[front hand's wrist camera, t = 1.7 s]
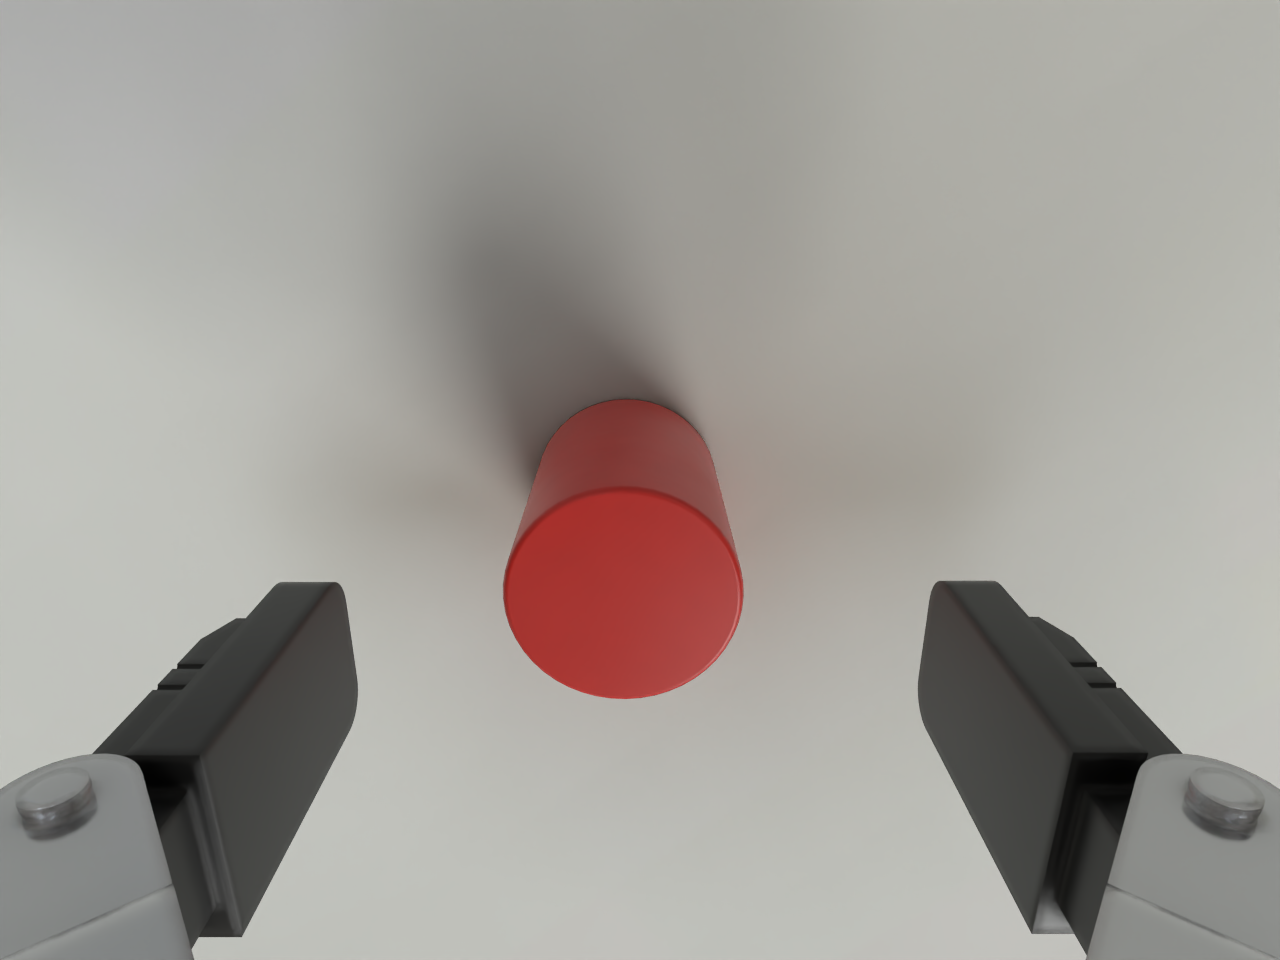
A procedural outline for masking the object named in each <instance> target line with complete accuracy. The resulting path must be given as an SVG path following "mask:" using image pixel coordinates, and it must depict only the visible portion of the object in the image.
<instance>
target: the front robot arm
mask: <svg viewBox="0 0 1280 960" xmlns="http://www.w3.org/2000/svg"><path fill="white" fill-rule="evenodd" d="M177 665H178V666H177V669H172V670H171V671H170V672H169V673H168V674H167V676H166V677H165V678H164V679H163V680H162V681H161V682H160V683H159V684H158V689H157V690H152V691H151V692H150V693H149V695H148V696H147V697H146V698H145V699H144V700H143V701H142V702H141V703H140V704H139V705H138V706H137V707H136V708H135V709H134V710H133V711H132V712H131V714H130V715H129V716H128V717H127V718H126V719H125V720H124V721H123V722H122V723H121V724H120V725H119V726H118V727H117V728H116V729H115V730H114V731H113V733H112V734H111V735H110V736H109V737H108V738H107V739H106V740H105V741H104V742H103V743H102V744H101V745H100V746H99V747H98V748H97V749H96V750H95V752H94V753H93V754H90V755H82V756H77V757H73V758H68V759H64V760H61V761H58V762H54V763H51V764H49V765H46V766H43V767H41V768H38V769H36V770H34V771H32V772H30V773H27V774H25V775H23V776H21V777H20V778H18V779H16V780H14V781H12V782H11V783H9V784H8V785H6V786H5V787H3V788H2V789H0V960H194V957H193V954H192V950H191V949H192V947H193V946H194V944H195V942H196V940H197V939H198V937H242V935H243V933H244V932H245V930H246V928H247V926H248V924H249V922H250V920H251V918H252V916H253V914H254V912H255V911H256V909H257V907H258V905H259V903H260V901H261V899H262V897H263V895H264V893H265V891H266V890H267V888H268V886H269V884H270V882H271V880H272V878H273V876H274V874H275V872H276V870H277V869H278V867H279V865H280V863H281V861H282V859H283V857H284V855H285V853H286V851H287V849H288V847H289V846H290V844H291V842H292V840H293V838H294V836H295V834H296V832H297V830H298V828H299V826H300V825H301V823H302V821H303V819H304V817H305V815H306V813H307V811H308V809H309V807H310V805H311V804H312V802H313V800H314V798H315V796H316V794H317V792H318V790H319V788H320V786H321V784H322V783H323V781H324V779H325V777H326V775H327V773H328V771H329V769H330V767H331V765H332V763H333V761H334V760H335V758H336V756H337V754H338V752H339V750H340V748H341V746H342V744H343V742H344V740H345V739H346V737H347V735H348V733H349V731H350V729H351V727H352V724H353V721H354V717H355V713H356V707H357V698H358V683H357V675H356V668H355V661H354V654H353V647H352V640H351V633H350V626H349V619H348V612H347V605H346V599H345V595H344V591H343V589H342V587H341V586H340V585H339V584H338V583H336V582H280V583H278V584H276V585H275V586H274V587H273V588H272V590H271V591H270V592H269V593H268V594H267V595H266V596H265V597H264V599H263V600H262V601H261V602H260V603H259V604H258V605H257V606H256V607H255V609H254V610H253V611H252V612H251V613H250V614H249V615H248V616H247V618H236V619H235V620H233V621H231V622H229V623H228V624H226V625H224V626H223V627H221V628H219V629H218V630H216V631H214V632H212V633H211V634H209V635H207V636H206V637H204V638H202V639H201V640H200V641H199V642H198V643H197V644H196V645H195V646H194V647H193V648H192V649H191V650H190V651H189V652H188V653H187V654H186V655H185V657H184V658H183V659H182V660H181V661H180V662H179V663H178V664H177ZM918 699H919V707H920V712H921V717H922V720H923V723H924V726H925V728H926V730H927V732H928V734H929V736H930V738H931V740H932V742H933V744H934V745H935V747H936V749H937V751H938V753H939V755H940V757H941V759H942V761H943V763H944V765H945V767H946V769H947V771H948V773H949V774H950V776H951V778H952V780H953V782H954V784H955V786H956V788H957V790H958V792H959V794H960V796H961V798H962V800H963V802H964V804H965V805H966V807H967V809H968V811H969V813H970V815H971V817H972V819H973V821H974V823H975V825H976V827H977V829H978V831H979V833H980V834H981V836H982V838H983V840H984V842H985V844H986V846H987V848H988V850H989V852H990V854H991V856H992V858H993V860H994V862H995V863H996V865H997V867H998V869H999V871H1000V873H1001V875H1002V877H1003V879H1004V881H1005V883H1006V885H1007V887H1008V889H1009V891H1010V893H1011V894H1012V896H1013V898H1014V900H1015V902H1016V904H1017V906H1018V908H1019V910H1020V912H1021V914H1022V916H1023V918H1024V920H1025V922H1026V923H1027V925H1028V927H1029V929H1030V931H1031V933H1032V934H1075V936H1076V937H1077V939H1078V941H1079V943H1080V944H1081V946H1082V948H1083V949H1084V951H1085V953H1086V955H1087V957H1086V960H1280V789H1278V788H1277V787H1275V786H1274V785H1272V784H1271V783H1269V782H1268V781H1266V780H1264V779H1262V778H1260V777H1259V776H1257V775H1255V774H1253V773H1250V772H1248V771H1246V770H1244V769H1242V768H1239V767H1237V766H1234V765H1231V764H1229V763H1226V762H1222V761H1219V760H1216V759H1212V758H1207V757H1203V756H1198V755H1190V754H1182V753H1181V751H1180V750H1179V749H1178V748H1177V747H1176V746H1175V745H1174V744H1173V743H1172V742H1171V741H1170V740H1169V739H1168V738H1167V737H1166V735H1165V734H1164V733H1163V732H1162V731H1161V730H1160V729H1159V728H1158V727H1157V726H1156V725H1155V724H1154V723H1153V722H1152V721H1151V719H1150V718H1149V717H1148V716H1147V715H1146V714H1145V713H1144V712H1143V711H1142V710H1141V709H1140V708H1139V707H1138V706H1137V705H1136V704H1135V702H1134V701H1133V700H1132V699H1131V698H1130V697H1129V696H1128V695H1127V694H1126V693H1125V692H1124V691H1123V690H1122V689H1121V688H1117V687H1116V682H1115V681H1114V680H1113V679H1112V678H1111V677H1110V676H1109V675H1108V674H1107V673H1106V672H1105V670H1104V669H1103V668H1102V667H1097V662H1096V661H1095V660H1094V659H1093V658H1092V657H1091V656H1090V655H1089V653H1088V652H1087V651H1086V650H1085V649H1084V648H1083V647H1082V646H1081V645H1080V644H1079V643H1078V642H1077V641H1076V640H1075V639H1074V638H1073V637H1072V636H1070V635H1068V634H1066V633H1065V632H1063V631H1061V630H1060V629H1058V628H1056V627H1055V626H1053V625H1051V624H1050V623H1048V622H1046V621H1045V620H1043V619H1041V618H1039V617H1028V615H1027V614H1026V613H1025V612H1024V611H1023V610H1022V609H1021V607H1020V606H1019V605H1018V604H1017V603H1016V602H1015V601H1014V600H1013V598H1012V597H1011V596H1010V595H1009V594H1008V593H1007V592H1006V590H1005V589H1004V588H1003V587H1002V586H1001V585H1000V584H999V583H998V582H996V581H938V582H937V583H936V584H935V585H934V587H933V589H932V592H931V595H930V600H929V607H928V614H927V622H926V629H925V636H924V643H923V650H922V657H921V664H920V671H919V679H918Z"/></svg>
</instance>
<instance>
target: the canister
mask: <svg viewBox="0 0 1280 960" xmlns="http://www.w3.org/2000/svg"><path fill="white" fill-rule="evenodd" d="M743 596H744V595H743V579H742V573H741V568H740V564H739V560H738V556H737V553H736V549H735V545H734V541H733V537H732V533H731V529H730V526H729V522H728V518H727V514H726V510H725V506H724V502H723V499H722V495H721V491H720V487H719V483H718V479H717V475H716V472H715V468H714V464H713V461H712V458H711V455H710V452H709V450H708V448H707V446H706V444H705V442H704V441H703V439H702V438H701V436H700V435H699V433H698V432H697V431H696V430H695V429H694V428H693V427H692V426H691V425H690V424H689V423H688V422H687V421H686V420H684V419H683V418H682V417H681V416H679V415H677V414H676V413H674V412H673V411H671V410H669V409H667V408H665V407H662V406H660V405H657V404H654V403H651V402H646V401H640V400H629V399H623V400H612V401H607V402H602V403H599V404H596V405H593V406H590V407H588V408H586V409H584V410H582V411H580V412H578V413H577V414H576V415H574V416H573V417H571V418H570V419H568V420H567V421H566V422H565V423H564V424H563V425H562V426H561V427H560V428H559V429H558V430H557V431H556V433H555V434H554V435H553V437H552V438H551V440H550V441H549V443H548V444H547V446H546V449H545V451H544V453H543V455H542V459H541V462H540V465H539V468H538V471H537V474H536V477H535V480H534V483H533V486H532V489H531V492H530V495H529V498H528V501H527V504H526V507H525V510H524V513H523V516H522V520H521V523H520V526H519V529H518V532H517V535H516V538H515V541H514V544H513V547H512V550H511V553H510V556H509V559H508V563H507V566H506V569H505V575H504V582H503V600H504V607H505V613H506V616H507V619H508V622H509V626H510V628H511V630H512V632H513V634H514V636H515V638H516V640H517V641H518V643H519V645H520V646H521V648H522V649H523V651H524V652H525V653H526V654H527V656H528V657H529V658H530V659H531V660H532V661H533V662H534V663H535V664H536V665H537V666H538V667H539V668H540V669H541V670H542V671H544V672H545V673H546V674H548V675H549V676H551V677H552V678H553V679H555V680H557V681H558V682H560V683H562V684H564V685H566V686H568V687H570V688H573V689H575V690H578V691H580V692H583V693H587V694H591V695H594V696H599V697H606V698H617V699H631V698H642V697H648V696H654V695H657V694H661V693H664V692H667V691H670V690H673V689H675V688H677V687H680V686H682V685H684V684H685V683H687V682H689V681H691V680H692V679H694V678H696V677H697V676H698V675H700V674H701V673H702V672H704V671H705V670H706V669H707V668H708V667H709V666H710V665H711V664H712V663H713V662H714V661H716V659H717V658H718V657H719V656H720V654H721V653H722V652H723V651H724V649H725V648H726V646H727V645H728V643H729V641H730V640H731V638H732V636H733V634H734V632H735V630H736V627H737V625H738V623H739V619H740V615H741V611H742V605H743Z"/></svg>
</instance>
